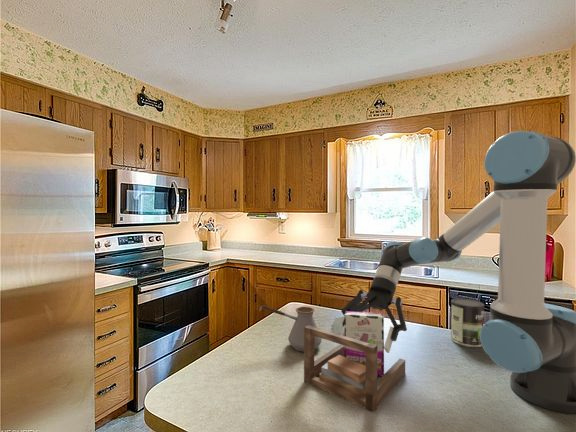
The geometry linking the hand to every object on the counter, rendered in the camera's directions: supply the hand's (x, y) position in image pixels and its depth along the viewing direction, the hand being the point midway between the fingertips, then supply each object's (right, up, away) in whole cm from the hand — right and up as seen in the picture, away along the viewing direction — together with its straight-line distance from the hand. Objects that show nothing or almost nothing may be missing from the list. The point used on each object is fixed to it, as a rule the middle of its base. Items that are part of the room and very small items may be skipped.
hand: (363, 343), depth 90 cm
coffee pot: (-21, -8, +15) cm, 27 cm away
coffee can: (+42, -8, +22) cm, 48 cm away
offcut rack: (-3, -8, -3) cm, 9 cm away
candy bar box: (0, -8, 0) cm, 8 cm away
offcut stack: (-6, -8, -7) cm, 13 cm away
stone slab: (+1, -8, +35) cm, 36 cm away
